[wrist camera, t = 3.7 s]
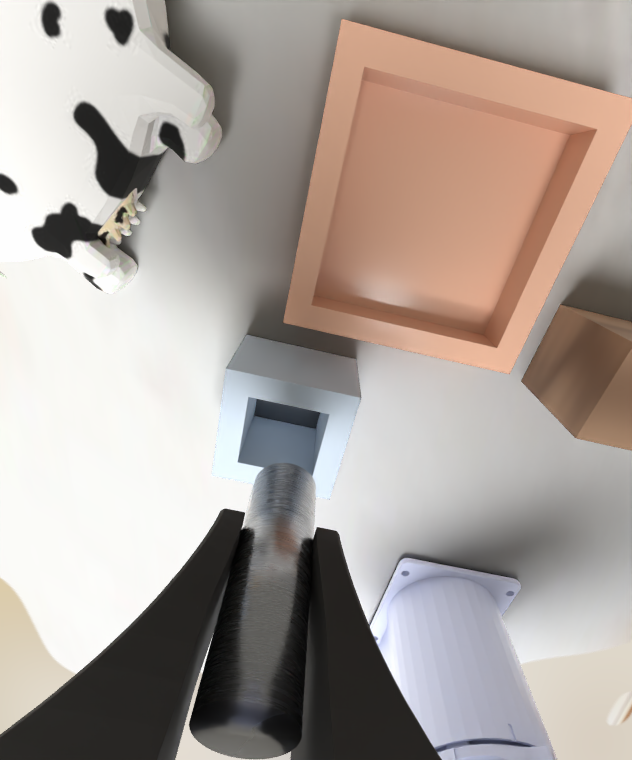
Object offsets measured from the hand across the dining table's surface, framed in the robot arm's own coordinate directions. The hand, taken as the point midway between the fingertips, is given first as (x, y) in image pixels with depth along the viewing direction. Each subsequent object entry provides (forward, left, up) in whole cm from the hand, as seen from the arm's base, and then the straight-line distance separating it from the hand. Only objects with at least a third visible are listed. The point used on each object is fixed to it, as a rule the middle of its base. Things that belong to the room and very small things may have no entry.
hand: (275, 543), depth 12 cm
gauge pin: (0, 0, -2) cm, 2 cm away
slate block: (0, 0, -10) cm, 10 cm away
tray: (+9, -4, -10) cm, 14 cm away
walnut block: (+5, -13, -10) cm, 17 cm away
